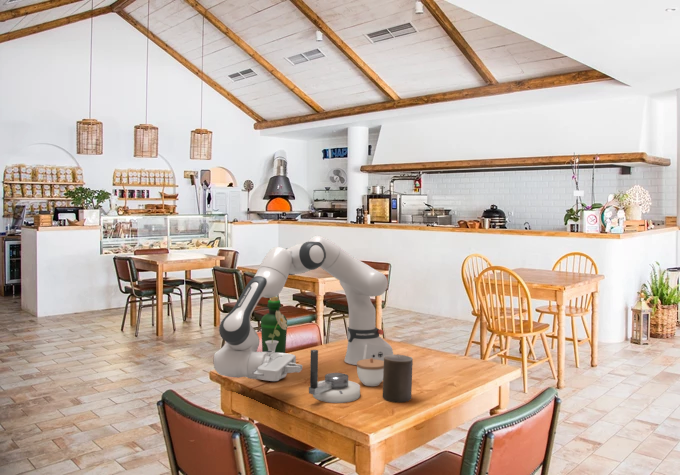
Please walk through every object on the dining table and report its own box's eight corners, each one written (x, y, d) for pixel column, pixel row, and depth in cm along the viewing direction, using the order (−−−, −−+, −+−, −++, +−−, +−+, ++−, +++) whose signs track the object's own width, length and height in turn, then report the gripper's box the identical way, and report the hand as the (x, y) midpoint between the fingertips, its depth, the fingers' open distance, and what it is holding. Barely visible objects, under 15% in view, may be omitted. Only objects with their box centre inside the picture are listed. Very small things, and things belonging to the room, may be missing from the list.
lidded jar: (365, 389, 203) (366, 363, 203) (351, 381, 213) (351, 356, 212) (391, 386, 208) (392, 360, 208) (376, 378, 218) (376, 353, 217)
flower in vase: (273, 385, 207) (274, 315, 206) (249, 379, 213) (250, 312, 212) (295, 376, 218) (296, 310, 217) (271, 371, 224) (272, 307, 223)
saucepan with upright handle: (334, 379, 203) (335, 340, 202) (353, 384, 198) (353, 343, 197) (302, 391, 189) (302, 349, 188) (321, 396, 184) (321, 353, 183)
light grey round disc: (351, 386, 207) (351, 377, 207) (366, 400, 192) (366, 391, 192) (307, 389, 202) (307, 380, 202) (320, 404, 187) (320, 394, 187)
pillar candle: (391, 404, 189) (392, 358, 188) (377, 395, 198) (378, 351, 197) (417, 400, 193) (418, 356, 192) (402, 392, 202) (403, 349, 201)
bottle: (289, 364, 235) (290, 295, 233) (284, 371, 224) (285, 299, 223) (263, 363, 236) (264, 295, 234) (257, 370, 225) (257, 299, 224)
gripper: (249, 364, 181) (291, 367, 178) (271, 348, 201) (309, 351, 198) (249, 384, 181) (291, 387, 178) (270, 366, 201) (309, 369, 198)
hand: (301, 368), depth 188 cm, fingers closed
